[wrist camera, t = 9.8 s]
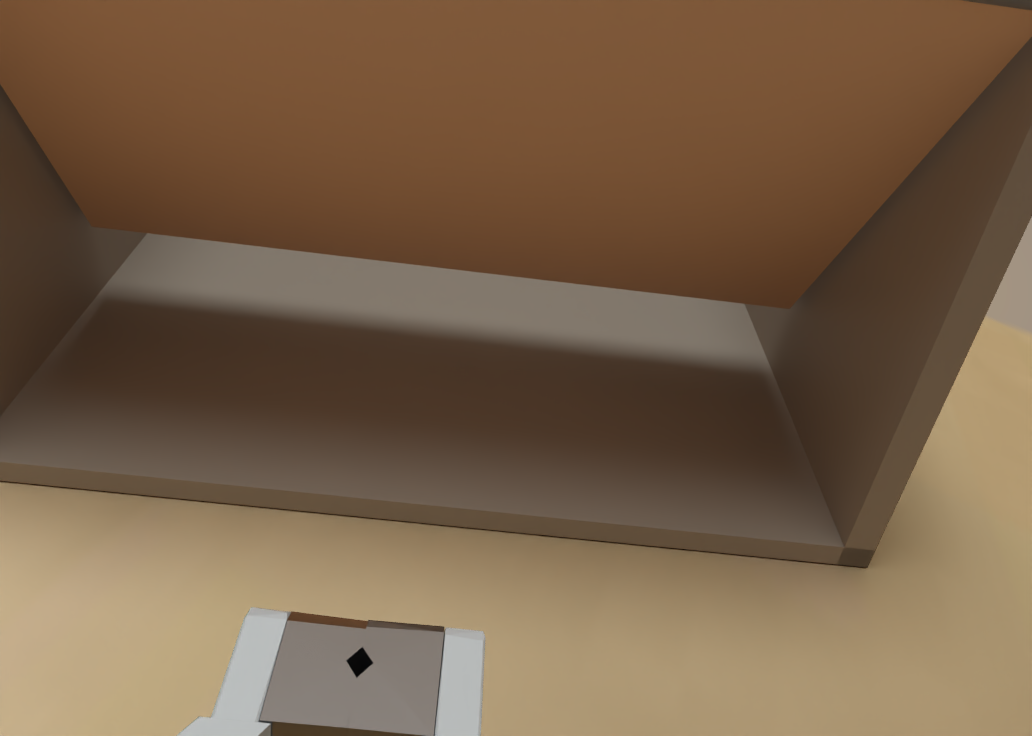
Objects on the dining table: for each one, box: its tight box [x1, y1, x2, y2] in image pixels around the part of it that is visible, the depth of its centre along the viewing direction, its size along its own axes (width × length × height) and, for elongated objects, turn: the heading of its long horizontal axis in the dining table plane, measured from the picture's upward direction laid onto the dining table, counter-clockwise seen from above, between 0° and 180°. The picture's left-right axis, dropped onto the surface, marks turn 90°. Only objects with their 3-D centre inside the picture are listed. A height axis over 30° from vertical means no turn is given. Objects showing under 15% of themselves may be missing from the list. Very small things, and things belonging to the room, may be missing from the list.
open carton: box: [0, 37, 1032, 567], centre depth 26 cm, size 23×16×14 cm
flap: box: [0, 0, 1032, 309], centre depth 21 cm, size 21×1×14 cm
